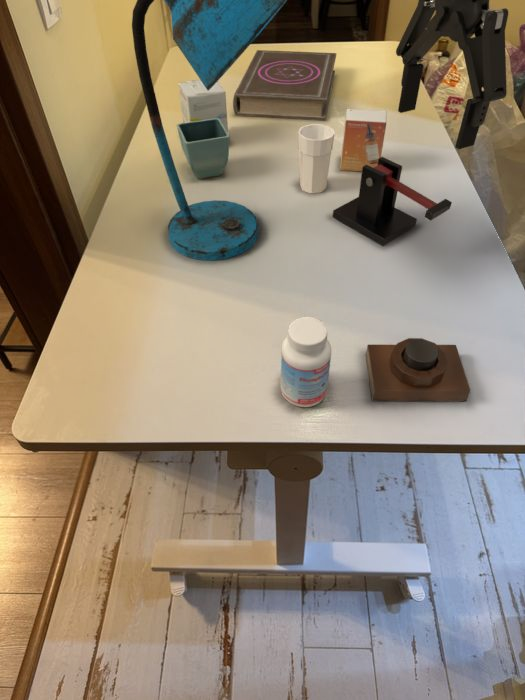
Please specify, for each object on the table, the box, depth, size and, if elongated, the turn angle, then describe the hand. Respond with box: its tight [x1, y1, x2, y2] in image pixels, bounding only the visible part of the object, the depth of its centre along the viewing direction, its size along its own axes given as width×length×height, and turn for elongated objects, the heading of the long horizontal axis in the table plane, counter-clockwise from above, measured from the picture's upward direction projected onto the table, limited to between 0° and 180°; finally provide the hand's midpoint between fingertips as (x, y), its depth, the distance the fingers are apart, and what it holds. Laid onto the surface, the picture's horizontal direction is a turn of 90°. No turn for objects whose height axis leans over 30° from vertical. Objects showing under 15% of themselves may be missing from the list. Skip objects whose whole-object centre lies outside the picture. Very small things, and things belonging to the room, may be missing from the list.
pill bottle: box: [280, 316, 332, 408], centre depth 64 cm, size 6×6×11 cm
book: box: [232, 49, 337, 121], centre depth 133 cm, size 30×22×5 cm
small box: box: [339, 108, 388, 172], centre depth 104 cm, size 8×6×10 cm
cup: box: [298, 123, 335, 195], centre depth 99 cm, size 7×7×11 cm
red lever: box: [374, 164, 453, 222], centre depth 85 cm, size 14×5×2 cm, turn 41°
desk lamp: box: [131, 0, 288, 262], centre depth 76 cm, size 16×22×45 cm
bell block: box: [365, 337, 471, 402], centre depth 68 cm, size 12×8×4 cm, turn 89°
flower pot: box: [176, 118, 231, 180], centre depth 104 cm, size 9×9×9 cm
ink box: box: [178, 79, 229, 133], centre depth 113 cm, size 9×9×12 cm
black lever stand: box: [332, 156, 418, 247], centre depth 90 cm, size 12×9×11 cm
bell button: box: [404, 338, 438, 371], centre depth 66 cm, size 4×4×2 cm
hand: (433, 127), depth 77 cm, fingers open, 13 cm apart
